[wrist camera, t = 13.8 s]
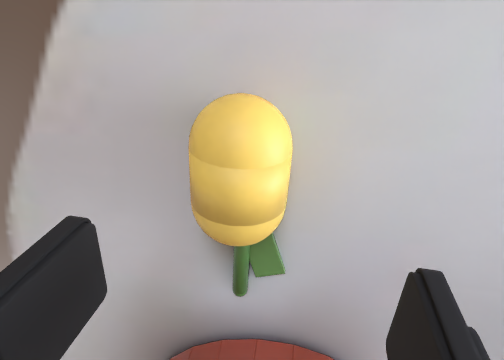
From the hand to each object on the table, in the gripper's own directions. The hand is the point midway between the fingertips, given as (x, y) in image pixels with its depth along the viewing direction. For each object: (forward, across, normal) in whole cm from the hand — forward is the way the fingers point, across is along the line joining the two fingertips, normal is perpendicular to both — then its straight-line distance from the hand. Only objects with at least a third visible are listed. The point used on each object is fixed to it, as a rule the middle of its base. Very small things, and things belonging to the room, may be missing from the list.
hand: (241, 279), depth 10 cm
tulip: (+8, +1, +2) cm, 9 cm away
